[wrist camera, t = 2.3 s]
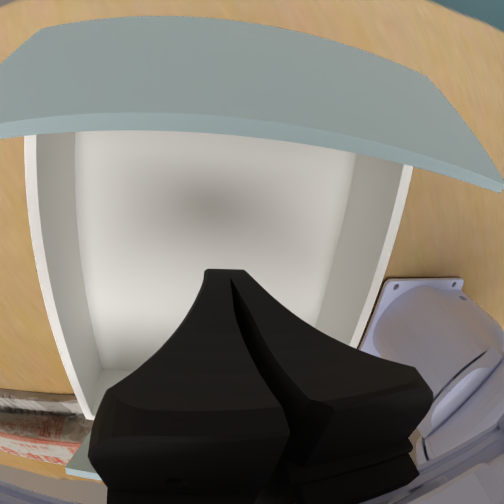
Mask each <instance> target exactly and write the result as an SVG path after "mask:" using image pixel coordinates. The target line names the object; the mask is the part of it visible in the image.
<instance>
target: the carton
mask: <svg viewBox="0 0 504 504" xmlns="http://www.w3.org/2000/svg"><path fill="white" fill-rule="evenodd" d="M24 157H25V182H26V196H27V207H28V216H29V224H30V232H31V239H32V245H33V251H34V257H35V262H36V267H37V272H38V277H39V282H40V286H41V291H42V295H43V299H44V303H45V307H46V311H47V314H48V318H49V321H50V325H51V328H52V332H53V335H54V338H55V341H56V344H57V347H58V350H59V353H60V356H61V359H62V362H63V365H64V367H65V370H66V373H67V375H68V378H69V381H70V383H71V386H72V388H73V390H74V393H75V395H76V398H77V400H78V402H79V405H80V407H81V409H82V411H83V413H84V416H85V418H86V419H88V420H94V419H95V416H96V413H97V410H98V408H99V405H100V403H101V401H102V398H103V396H104V394H105V392H106V390H107V389H108V388H110V387H112V386H113V385H115V384H116V383H118V382H119V381H121V380H122V379H124V378H125V377H127V376H128V375H130V374H131V373H132V372H134V371H135V370H136V369H137V368H139V367H140V366H141V365H142V364H143V363H144V362H145V361H147V360H148V359H149V358H150V357H151V356H152V355H153V354H155V353H156V352H157V351H158V350H159V349H160V348H161V347H162V346H163V344H164V343H165V342H166V341H167V340H168V339H169V338H170V337H171V335H172V334H173V333H174V332H175V330H176V329H177V328H178V327H179V325H180V324H181V322H182V321H183V320H184V318H185V317H186V315H187V313H188V312H189V310H190V308H191V306H192V305H193V303H194V301H195V299H196V297H197V295H198V293H199V290H200V288H201V285H202V283H203V279H204V271H205V270H206V269H242V270H245V271H246V272H247V273H248V274H249V275H250V276H251V277H252V278H253V279H254V280H255V281H257V282H258V283H259V284H260V285H261V286H262V287H263V288H264V289H265V290H266V291H267V292H268V293H269V294H270V295H271V296H273V297H274V298H275V299H276V300H277V301H278V302H280V303H281V304H282V305H283V306H284V307H286V308H287V309H288V310H290V311H291V312H292V313H293V314H295V315H296V316H298V317H299V318H300V319H302V320H303V321H305V322H306V323H308V324H310V325H311V326H313V327H314V328H316V329H318V330H319V331H321V332H323V333H325V334H326V335H328V336H330V337H332V338H334V339H336V340H338V341H340V342H342V343H344V344H346V345H349V346H351V347H353V348H357V346H358V344H359V341H360V339H361V336H362V334H363V331H364V329H365V326H366V324H367V321H368V319H369V316H370V313H371V311H372V308H373V305H374V302H375V300H376V297H377V294H378V291H379V288H380V286H381V283H382V280H383V277H384V274H385V271H386V268H387V264H388V261H389V258H390V255H391V252H392V248H393V245H394V242H395V238H396V235H397V231H398V228H399V224H400V220H401V217H402V213H403V209H404V205H405V201H406V197H407V193H408V189H409V184H410V180H411V175H412V171H413V166H409V165H405V164H401V163H397V162H393V161H389V160H384V159H380V158H375V157H371V156H366V155H362V154H357V153H352V152H347V151H341V150H336V149H331V148H325V147H319V146H313V145H307V144H301V143H294V142H287V141H280V140H272V139H264V138H255V137H246V136H236V135H225V134H213V133H198V132H180V131H149V130H111V131H81V132H63V133H50V134H39V135H29V136H24Z"/></svg>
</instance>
